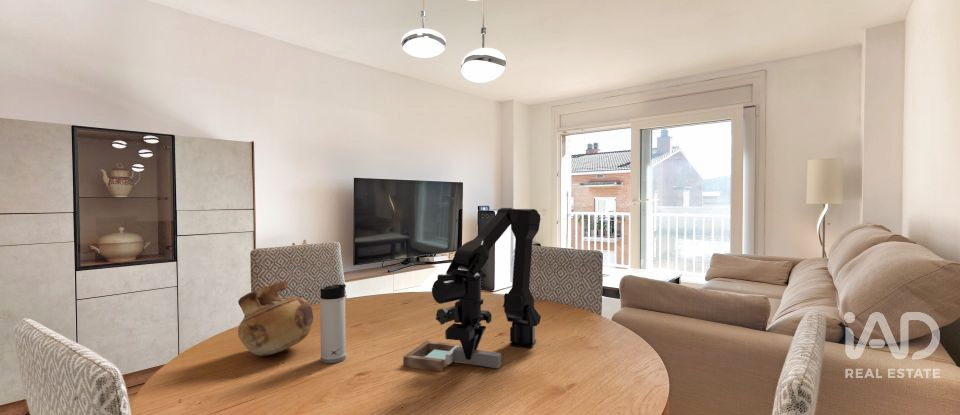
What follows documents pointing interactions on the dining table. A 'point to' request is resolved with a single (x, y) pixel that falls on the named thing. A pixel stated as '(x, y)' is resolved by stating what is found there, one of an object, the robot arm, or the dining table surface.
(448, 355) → the pusher tool
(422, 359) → the bay
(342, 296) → the travel mug
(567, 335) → the dining table surface
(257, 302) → the clay pot
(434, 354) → the tile
